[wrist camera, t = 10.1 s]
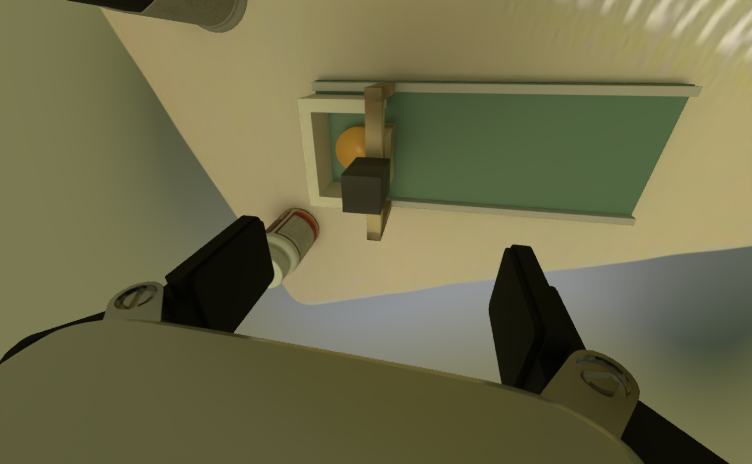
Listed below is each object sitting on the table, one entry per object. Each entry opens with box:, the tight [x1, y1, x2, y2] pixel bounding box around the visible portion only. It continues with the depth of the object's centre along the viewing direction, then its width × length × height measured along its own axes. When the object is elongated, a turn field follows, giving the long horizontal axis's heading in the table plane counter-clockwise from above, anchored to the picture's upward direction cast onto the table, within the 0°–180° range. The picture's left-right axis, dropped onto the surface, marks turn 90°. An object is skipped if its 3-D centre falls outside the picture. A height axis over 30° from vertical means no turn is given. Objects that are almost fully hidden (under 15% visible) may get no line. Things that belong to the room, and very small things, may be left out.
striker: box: [340, 82, 396, 241], centre depth 28 cm, size 14×3×14 cm, turn 0°
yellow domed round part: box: [336, 125, 366, 169], centre depth 34 cm, size 5×5×2 cm
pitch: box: [297, 80, 703, 226], centre depth 31 cm, size 14×36×6 cm, turn 90°
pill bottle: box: [265, 209, 318, 288], centre depth 39 cm, size 6×6×11 cm
